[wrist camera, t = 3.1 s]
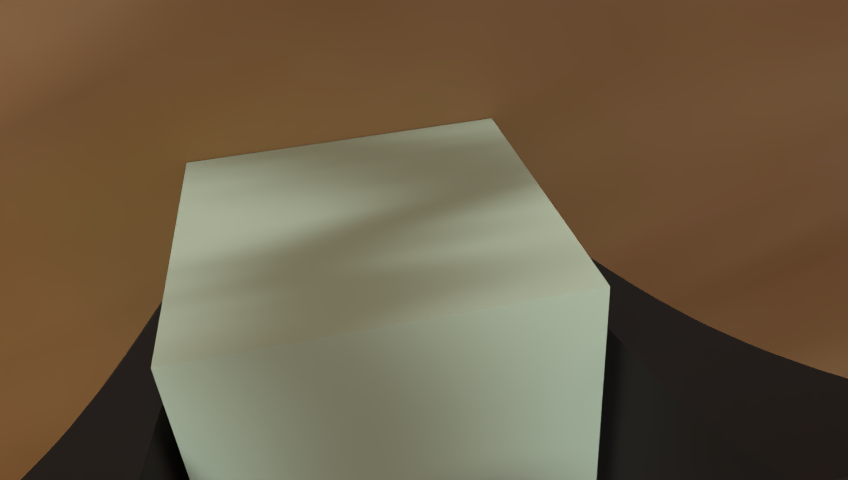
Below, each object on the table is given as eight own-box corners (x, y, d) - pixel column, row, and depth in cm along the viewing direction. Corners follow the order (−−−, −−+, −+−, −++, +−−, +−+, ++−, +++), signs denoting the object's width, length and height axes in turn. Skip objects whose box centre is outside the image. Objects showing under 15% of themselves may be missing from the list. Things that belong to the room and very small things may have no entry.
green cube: (491, 118, 13) (609, 286, 8) (497, 348, 15) (590, 563, 11) (186, 163, 12) (150, 368, 8) (248, 394, 15) (246, 640, 10)
